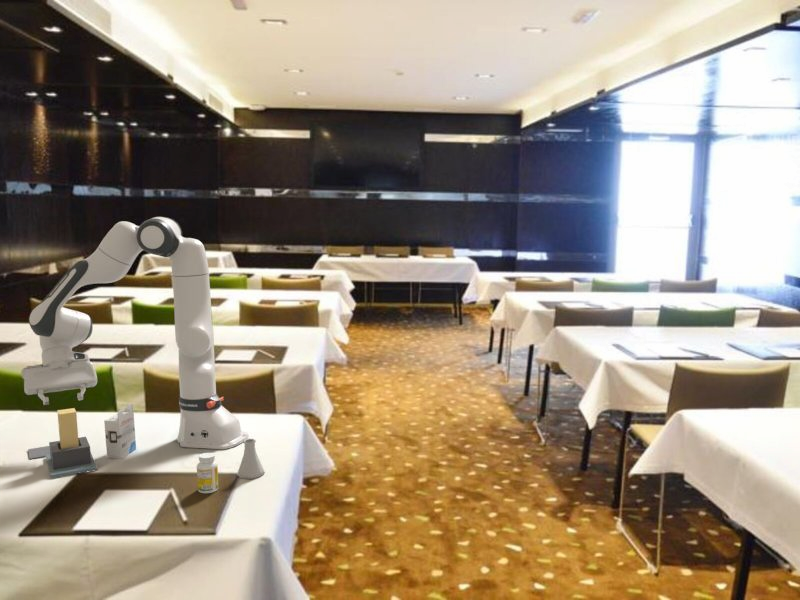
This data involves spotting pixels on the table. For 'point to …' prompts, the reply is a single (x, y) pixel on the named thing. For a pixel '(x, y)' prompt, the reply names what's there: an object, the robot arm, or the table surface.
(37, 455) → the pad
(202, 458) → the supplement bottle
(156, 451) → the table surface
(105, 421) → the ink box
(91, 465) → the board
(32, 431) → the table surface
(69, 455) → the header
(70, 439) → the plug
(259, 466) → the flask
